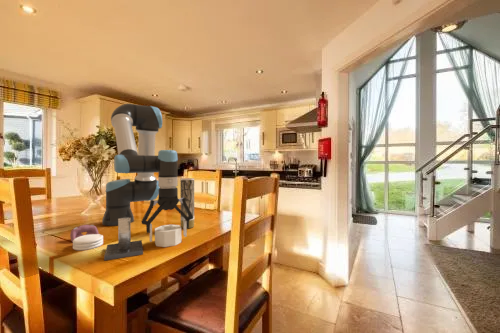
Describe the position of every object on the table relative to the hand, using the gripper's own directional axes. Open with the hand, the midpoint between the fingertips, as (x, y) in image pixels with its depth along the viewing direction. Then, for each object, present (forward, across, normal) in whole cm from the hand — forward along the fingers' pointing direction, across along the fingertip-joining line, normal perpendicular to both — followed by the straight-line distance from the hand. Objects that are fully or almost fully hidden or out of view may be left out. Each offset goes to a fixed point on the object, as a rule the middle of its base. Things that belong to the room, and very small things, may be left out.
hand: (168, 238), depth 97 cm
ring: (+2, 0, 0) cm, 2 cm away
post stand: (+2, -16, -3) cm, 16 cm away
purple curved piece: (+2, -32, +21) cm, 38 cm away
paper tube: (+2, +12, +19) cm, 23 cm away
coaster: (+2, -29, +10) cm, 31 cm away
